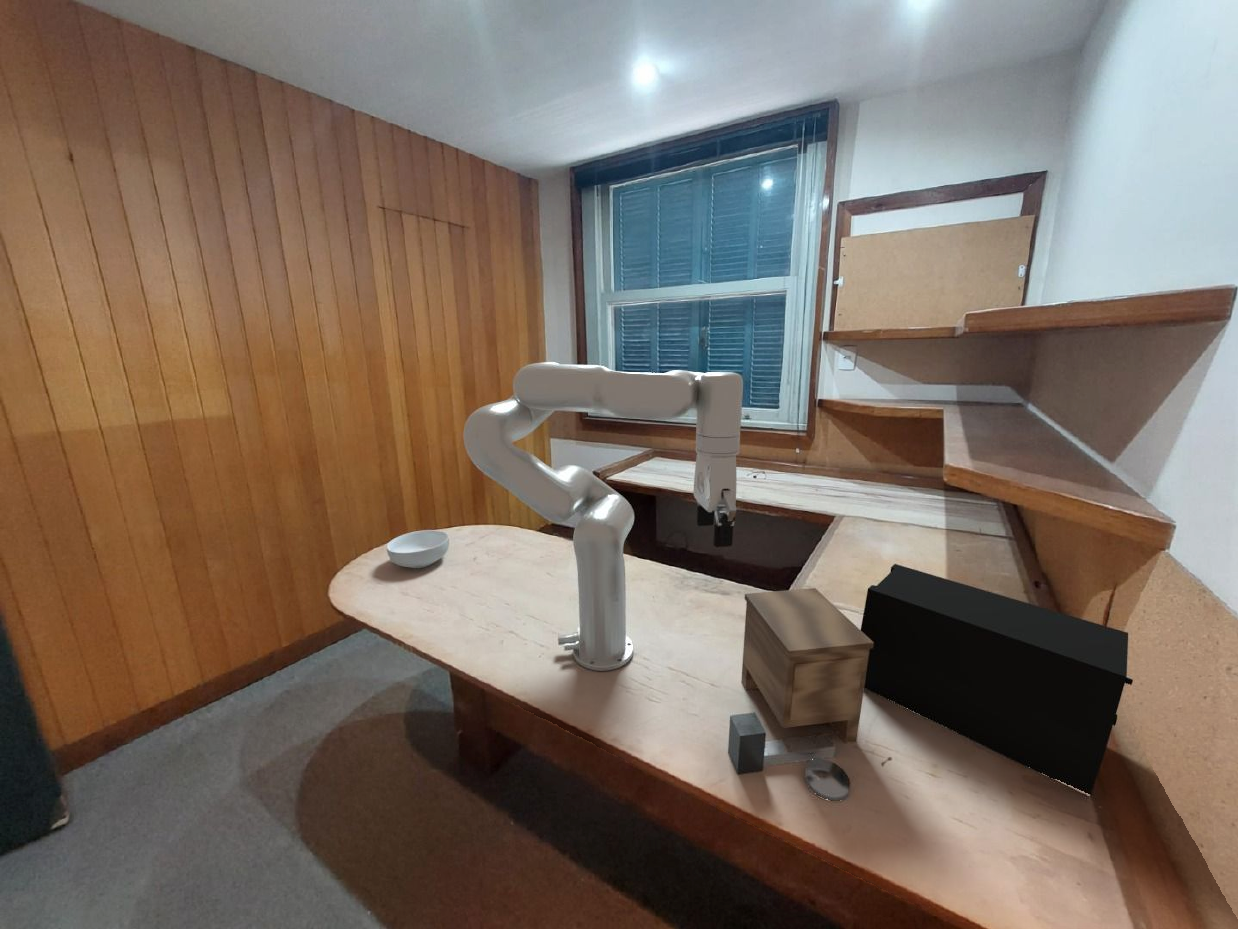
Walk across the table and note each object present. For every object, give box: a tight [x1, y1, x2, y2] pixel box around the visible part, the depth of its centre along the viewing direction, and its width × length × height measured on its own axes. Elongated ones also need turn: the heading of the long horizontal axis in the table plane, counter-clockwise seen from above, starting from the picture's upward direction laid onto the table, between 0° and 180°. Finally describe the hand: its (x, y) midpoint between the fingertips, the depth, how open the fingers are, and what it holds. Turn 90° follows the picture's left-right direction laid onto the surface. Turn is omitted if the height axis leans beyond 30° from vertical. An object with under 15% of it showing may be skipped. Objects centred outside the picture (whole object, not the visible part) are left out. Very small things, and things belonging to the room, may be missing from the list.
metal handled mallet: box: [727, 712, 836, 775], centre depth 73 cm, size 16×4×7 cm, turn 98°
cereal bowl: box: [386, 529, 450, 569], centre depth 140 cm, size 17×17×7 cm
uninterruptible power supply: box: [860, 563, 1134, 796], centre depth 80 cm, size 16×34×20 cm, turn 43°
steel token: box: [804, 758, 851, 802], centre depth 70 cm, size 6×6×2 cm
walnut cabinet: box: [740, 587, 874, 744], centre depth 81 cm, size 14×17×18 cm
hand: (713, 535), depth 87 cm, fingers open, 9 cm apart
